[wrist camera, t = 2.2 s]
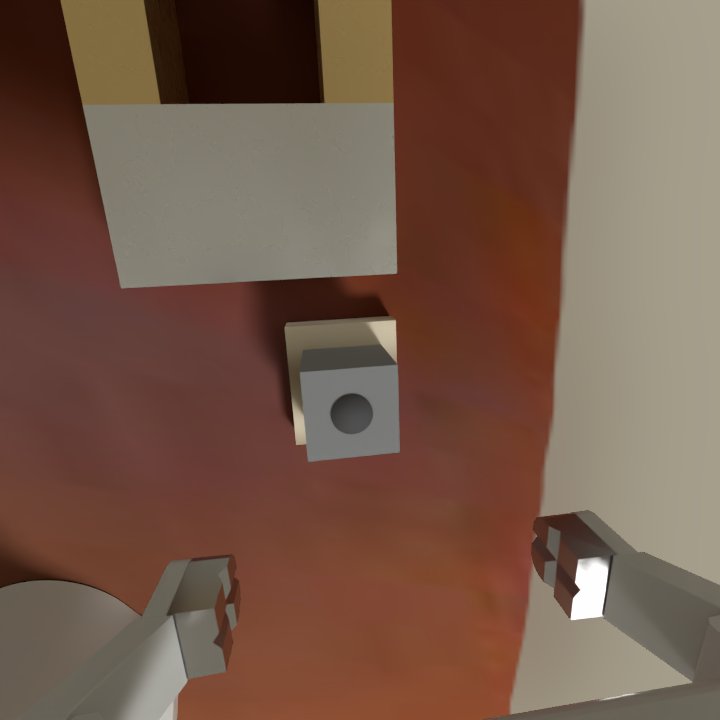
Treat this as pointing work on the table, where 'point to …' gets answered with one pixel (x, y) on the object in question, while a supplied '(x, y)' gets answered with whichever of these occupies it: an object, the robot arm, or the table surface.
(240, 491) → the table surface
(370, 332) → the tab
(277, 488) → the table surface
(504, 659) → the table surface
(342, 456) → the nut block
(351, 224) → the grey yellow rectangular frame
